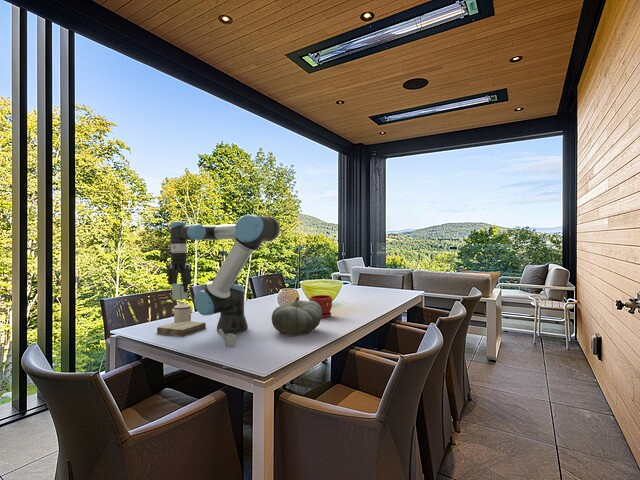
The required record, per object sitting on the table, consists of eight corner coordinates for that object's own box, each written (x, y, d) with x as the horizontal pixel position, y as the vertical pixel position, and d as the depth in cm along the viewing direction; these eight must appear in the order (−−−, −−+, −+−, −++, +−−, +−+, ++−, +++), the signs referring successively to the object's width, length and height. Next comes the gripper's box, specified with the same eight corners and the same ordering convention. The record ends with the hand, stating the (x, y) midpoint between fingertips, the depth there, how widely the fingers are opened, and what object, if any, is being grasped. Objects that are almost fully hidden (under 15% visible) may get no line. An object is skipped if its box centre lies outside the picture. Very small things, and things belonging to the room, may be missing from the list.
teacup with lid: (193, 322, 191) (193, 301, 192) (176, 325, 186) (176, 303, 186) (187, 319, 201) (187, 299, 201) (170, 321, 196) (170, 300, 196)
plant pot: (318, 313, 213) (318, 294, 213) (336, 316, 206) (336, 295, 206) (305, 317, 203) (305, 296, 203) (323, 320, 195) (323, 298, 195)
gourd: (334, 324, 172) (328, 290, 171) (306, 345, 151) (298, 307, 150) (295, 323, 186) (289, 292, 185) (264, 342, 165) (257, 307, 164)
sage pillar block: (187, 298, 175) (187, 282, 175) (180, 300, 170) (179, 283, 170) (179, 298, 177) (179, 282, 177) (172, 299, 172) (172, 283, 172)
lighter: (234, 345, 148) (234, 326, 148) (235, 346, 147) (235, 327, 147) (217, 347, 144) (217, 328, 145) (219, 348, 143) (218, 329, 143)
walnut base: (205, 328, 178) (205, 322, 178) (183, 336, 163) (182, 330, 163) (181, 326, 184) (181, 320, 184) (157, 333, 169) (157, 327, 169)
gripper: (159, 253, 173) (160, 299, 173) (187, 252, 167) (189, 300, 167) (170, 252, 181) (171, 297, 180) (198, 251, 174) (199, 297, 174)
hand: (179, 298), depth 173 cm, fingers closed on sage pillar block, 5 cm apart
